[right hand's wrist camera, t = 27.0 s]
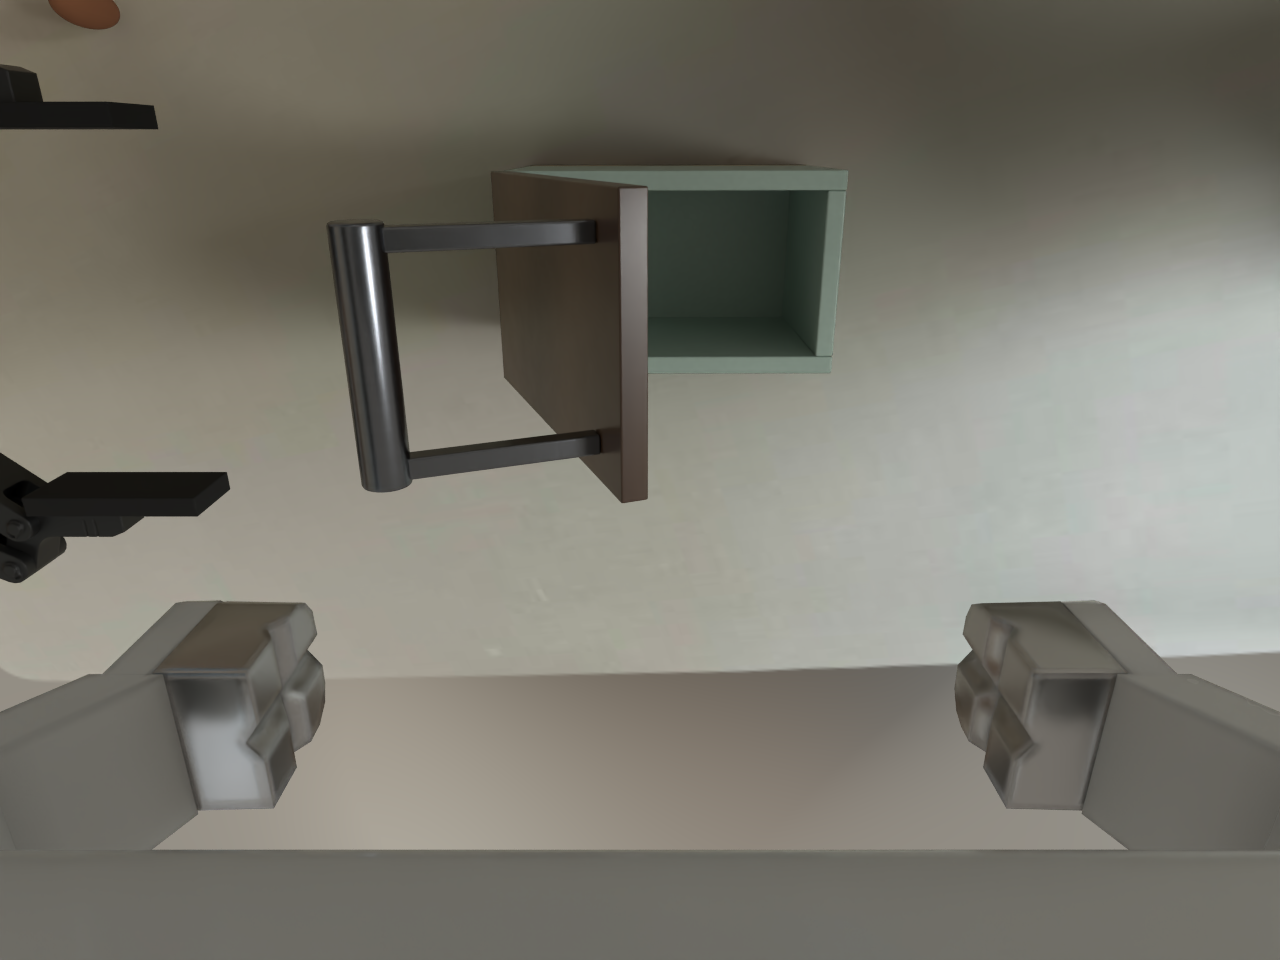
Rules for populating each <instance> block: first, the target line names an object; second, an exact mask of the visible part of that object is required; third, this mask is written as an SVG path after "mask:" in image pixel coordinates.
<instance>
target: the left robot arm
mask: <svg viewBox="0 0 1280 960" xmlns="http://www.w3.org/2000/svg"><path fill="white" fill-rule="evenodd" d="M0 129H158V125H157V120H156V115H155V110H154V106H152V105H140V104H128V103H116V102H43V99H42V95H41V90H40V86H39V82H38V78H37V74H36V73H34V72H31V71H29V70H26V69H24V68H21V67H17V66H9V65H1V64H0ZM229 490H230V486H229V481H228V476H227V472H67V473H65V474H63V475H61V476H60V477H58V478H56V479H54V480H52V481H51V482H49V483H47V482H45V481H44V480H42V479H41V478H39V477H37V476H36V475H34V474H33V473H31V472H30V471H28V470H27V469H25V468H23V467H22V466H20V465H19V464H17V463H16V462H14V461H12V460H11V459H9V458H8V457H6V456H5V455H3V454H2V453H0V579H3V580H6V581H8V582H12V583H20V582H22V581H24V580H25V579H27V578H28V577H30V576H31V575H33V574H34V573H36V572H37V571H38V570H40V569H41V568H43V567H44V566H45V565H47V564H48V563H50V562H51V561H53V560H54V559H55V558H57V557H58V556H60V555H61V554H62V553H64V552H65V550H66V541H65V539H64V538H63V537H87V536H89V537H97V536H99V537H113V536H116V535H118V534H121V533H123V532H125V531H126V530H128V529H129V528H130V527H132V526H133V525H134V524H136V523H137V522H138V521H140V520H141V519H142V518H144V516H199V515H200V514H201V513H202V512H203V511H205V510H206V509H207V508H208V507H209V506H211V505H212V504H213V503H214V502H215V501H217V500H218V499H219V498H220V497H221V496H223V495H224V494H225V493H226V492H227V491H229Z"/></svg>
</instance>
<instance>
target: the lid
mask: <svg viewBox="0 0 1280 960" xmlns="http://www.w3.org/2000/svg"><path fill="white" fill-rule="evenodd" d="M491 182H492V198H493V213H494V222H466V223H436V224H406V225H384V223H383V221H380V220H372V219H353V220H337V221H330V222H328V223H327V225H326V228H327V235H328V242H329V250H330V257H331V264H332V271H333V279H334V286H335V293H336V301H337V308H338V315H339V323H340V330H341V337H342V345H343V352H344V359H345V366H346V374H347V381H348V388H349V396H350V403H351V410H352V418H353V425H354V432H355V440H356V447H357V454H358V461H359V469H360V476H361V483H362V486H363V488H364V489H365V490H368V491H371V492H392V491H397V490H400V489H403V488H405V487H407V486H409V485H410V484H411V483H412V480H413V479H419V478H427V477H434V476H441V475H449V474H456V473H464V472H471V471H479V470H486V469H494V468H501V467H509V466H516V465H523V464H531V463H538V462H546V461H553V460H561V459H568V458H576V457H579V458H580V459H581V460H582V461H583V462H584V463H585V464H586V465H587V467H588V468H589V469H590V470H591V471H592V472H593V473H594V474H595V475H596V476H597V477H598V478H599V479H600V480H601V481H602V483H603V484H604V485H605V486H606V487H607V488H608V489H609V490H610V491H611V492H612V493H613V494H614V495H615V496H616V498H617V499H618V500H619V501H620V502H621V503H627V502H633V501H640V500H646V499H647V498H648V187H647V186H643V185H633V184H624V183H615V182H606V181H596V180H587V179H578V178H568V177H559V176H550V175H541V174H531V173H522V172H513V171H492V172H491ZM490 248H496V260H497V275H498V290H499V306H500V321H501V337H502V352H503V368H504V378H505V379H506V380H507V381H508V382H509V383H510V384H511V385H512V386H513V387H514V388H515V390H516V391H517V392H518V393H519V394H520V395H521V396H522V397H523V398H524V399H525V400H526V401H527V402H528V403H529V405H530V406H531V407H532V408H533V409H534V410H535V411H536V412H537V413H538V414H539V415H540V416H541V417H542V418H543V419H544V421H545V422H546V423H547V424H548V425H549V426H550V427H551V428H552V429H553V430H554V431H555V432H556V433H557V434H554V435H546V436H538V437H529V438H521V439H513V440H505V441H497V442H489V443H481V444H473V445H465V446H457V447H448V448H440V449H432V450H424V451H416V452H410V451H409V442H408V433H407V424H406V415H405V406H404V397H403V388H402V379H401V370H400V361H399V352H398V344H397V335H396V326H395V317H394V308H393V299H392V290H391V281H390V272H389V263H388V254H387V253H399V252H421V251H444V250H467V249H490Z"/></svg>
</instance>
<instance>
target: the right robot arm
mask: <svg viewBox="0 0 1280 960" xmlns="http://www.w3.org/2000/svg"><path fill="white" fill-rule="evenodd" d="M316 635H317V631H316V626H315V621H314V616H313V612H312V610H311V609H310V608H309V607H308V606H307V604H306V603H291V602H238V601H226V602H223V601H221V600H220V601H186V602H179V603H175V604H174V605H173V606H172V607H171V608H170V609H169V610H168V611H167V612H166V613H165V614H164V615H163V616H162V617H161V618H160V619H159V620H158V621H157V622H156V623H155V624H154V625H153V626H152V627H151V628H149V629H148V630H147V631H146V632H145V633H144V634H143V635H142V636H141V637H140V638H139V639H138V640H137V641H136V642H135V643H134V644H133V645H132V646H131V647H130V648H129V649H128V650H127V651H126V652H125V653H124V654H123V655H122V656H121V657H120V658H119V659H118V660H116V661H115V662H114V663H113V664H112V665H111V666H110V667H109V668H108V669H107V670H106V671H105V672H104V673H103V674H88V675H86V676H83V677H81V678H79V679H76V680H74V681H72V682H69V683H67V684H65V685H62V686H60V687H58V688H55V689H53V690H51V691H48V692H46V693H44V694H41V695H39V696H37V697H34V698H32V699H29V700H27V701H25V702H22V703H20V704H18V705H15V706H13V707H11V708H8V709H6V710H4V711H1V712H0V960H1280V712H1278V711H1276V710H1274V709H1271V708H1269V707H1267V706H1264V705H1262V704H1260V703H1257V702H1255V701H1253V700H1250V699H1248V698H1246V697H1243V696H1241V695H1239V694H1236V693H1234V692H1232V691H1229V690H1227V689H1225V688H1222V687H1220V686H1218V685H1215V684H1213V683H1210V682H1208V681H1206V680H1204V679H1201V678H1199V677H1197V676H1194V675H1192V674H1177V673H1176V672H1175V671H1174V670H1173V669H1172V668H1171V667H1170V666H1169V665H1168V664H1167V663H1166V662H1165V661H1164V660H1163V659H1162V658H1161V657H1160V656H1158V655H1157V654H1156V653H1155V652H1154V651H1153V650H1152V649H1151V648H1150V647H1149V646H1148V645H1147V644H1146V643H1145V642H1144V641H1143V640H1142V639H1141V638H1140V637H1139V636H1138V635H1137V634H1136V633H1135V632H1134V631H1133V630H1132V629H1131V628H1130V627H1129V626H1128V625H1127V624H1126V623H1125V622H1124V621H1122V620H1121V619H1120V618H1119V617H1118V616H1117V615H1116V614H1115V613H1114V612H1113V611H1112V610H1111V609H1110V608H1109V607H1108V606H1107V605H1106V604H1104V603H1101V602H1098V601H1095V600H1089V601H1065V602H1061V601H1058V602H1017V603H980V604H972V605H971V607H970V609H969V611H968V613H967V616H966V620H965V625H964V631H963V635H964V637H965V639H966V640H967V642H968V643H969V645H970V646H971V648H972V649H973V650H972V651H971V652H970V653H969V654H968V655H967V656H966V657H965V658H964V659H963V660H962V661H961V662H960V663H959V664H958V666H957V673H956V681H955V700H956V711H957V714H958V718H959V721H960V724H961V727H962V729H963V731H964V733H965V735H966V737H967V739H968V741H969V742H971V743H972V744H974V745H976V746H977V747H979V748H980V749H982V750H983V751H985V752H986V755H985V761H984V766H983V768H984V770H985V771H986V773H987V775H988V777H989V778H990V780H991V782H992V784H993V786H994V787H995V789H996V791H997V793H998V794H999V796H1000V798H1001V800H1002V801H1003V803H1004V805H1005V807H1006V808H1011V809H1048V810H1082V814H1083V815H1084V816H1085V817H1087V818H1088V819H1089V820H1091V821H1092V822H1093V823H1095V824H1096V825H1097V826H1098V827H1100V828H1101V829H1102V830H1104V831H1105V832H1106V833H1108V834H1109V835H1110V836H1111V837H1113V838H1114V839H1115V840H1117V841H1118V842H1119V843H1121V844H1122V845H1123V846H1124V847H1126V848H1127V849H1128V850H152V849H153V848H155V847H156V846H157V845H158V844H160V843H161V842H162V841H164V840H165V839H166V838H168V837H169V836H170V835H171V834H173V833H174V832H175V831H177V830H178V829H179V828H181V827H182V826H183V825H185V824H186V823H187V822H188V821H190V820H191V819H192V818H194V817H195V816H196V815H198V811H197V810H231V809H267V808H274V807H275V805H276V803H277V802H278V800H279V798H280V796H281V795H282V793H283V791H284V789H285V787H286V786H287V784H288V782H289V780H290V778H291V777H292V775H293V773H294V771H295V769H296V768H297V766H296V760H295V755H294V752H295V751H297V750H298V749H300V748H301V747H303V746H304V745H306V744H308V743H309V742H311V741H312V739H313V737H314V735H315V733H316V731H317V729H318V727H319V725H320V721H321V717H322V712H323V708H324V704H325V679H324V672H323V666H322V664H321V663H320V662H319V661H318V660H317V659H316V658H315V657H314V656H313V655H312V654H311V653H310V652H309V651H308V650H307V649H308V648H309V646H310V645H311V643H312V642H313V640H314V639H315V637H316Z"/></svg>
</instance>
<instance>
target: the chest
mask: <svg viewBox="0 0 1280 960" xmlns="http://www.w3.org/2000/svg"><path fill="white" fill-rule="evenodd" d="M506 171H513V172H522V173H531V174H541V175H550V176H559V177H568V178H578V179H587V180H596V181H606V182H615V183H624V184H633V185H643V186H647V187H648V374H704V373H830V372H831V366H832V354H833V343H834V331H835V319H836V307H837V296H838V284H839V272H840V261H841V249H842V237H843V226H844V214H845V202H846V191H845V190H847V181H848V170H842V169H833V168H824V167H815V166H807V165H532V166H528V167H523V168H517V169H512V170H506Z"/></svg>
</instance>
